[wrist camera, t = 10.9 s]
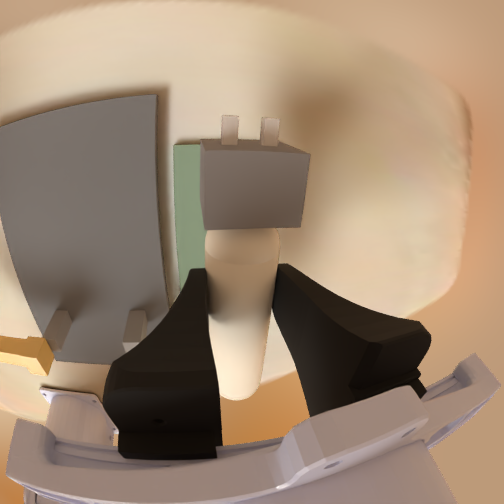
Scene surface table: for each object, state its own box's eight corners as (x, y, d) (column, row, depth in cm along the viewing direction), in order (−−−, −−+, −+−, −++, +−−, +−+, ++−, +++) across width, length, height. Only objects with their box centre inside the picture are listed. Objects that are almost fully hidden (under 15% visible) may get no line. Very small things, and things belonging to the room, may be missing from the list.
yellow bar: (54, 356, 14) (47, 376, 13) (-17, 345, 13) (-25, 360, 11) (44, 337, 13) (36, 358, 12) (-26, 328, 12) (-35, 344, 10)
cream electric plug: (254, 368, 18) (265, 407, 15) (208, 373, 17) (214, 414, 14) (280, 118, 10) (313, 123, 8) (201, 114, 9) (206, 116, 7)
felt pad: (258, 343, 23) (259, 346, 22) (188, 349, 22) (188, 352, 21) (276, 145, 16) (278, 146, 15) (173, 144, 14) (173, 145, 14)
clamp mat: (177, 357, 22) (179, 394, 18) (58, 354, 19) (47, 387, 16) (157, 95, 13) (146, 87, 9) (-3, 129, 10) (-39, 137, 7)
